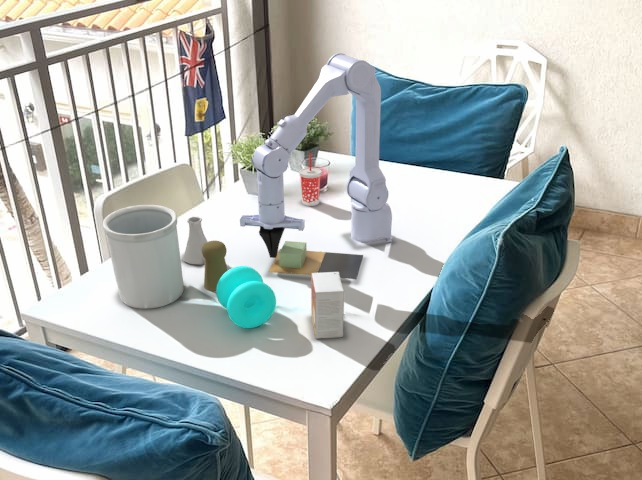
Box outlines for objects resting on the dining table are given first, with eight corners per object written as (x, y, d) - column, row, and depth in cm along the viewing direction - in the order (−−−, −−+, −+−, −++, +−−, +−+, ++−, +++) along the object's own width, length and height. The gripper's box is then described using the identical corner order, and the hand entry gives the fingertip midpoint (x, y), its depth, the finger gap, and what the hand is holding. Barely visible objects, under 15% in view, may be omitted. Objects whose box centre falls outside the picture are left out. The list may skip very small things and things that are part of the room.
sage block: (279, 266, 159) (279, 252, 157) (285, 254, 164) (285, 240, 162) (301, 268, 158) (300, 254, 156) (306, 256, 163) (306, 242, 161)
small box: (311, 318, 142) (310, 272, 136) (338, 316, 142) (339, 270, 137) (314, 339, 135) (314, 292, 130) (343, 337, 136) (344, 290, 130)
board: (268, 275, 157) (268, 271, 157) (280, 252, 167) (280, 248, 167) (356, 283, 154) (356, 279, 154) (363, 258, 164) (363, 254, 163)
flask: (219, 255, 167) (216, 216, 161) (203, 267, 161) (199, 228, 156) (194, 249, 169) (189, 211, 164) (177, 262, 164) (172, 222, 158)
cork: (226, 297, 150) (222, 250, 144) (200, 294, 151) (194, 248, 145) (235, 283, 155) (231, 238, 149) (209, 281, 156) (204, 236, 150)
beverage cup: (308, 196, 197) (307, 147, 189) (326, 201, 194) (326, 152, 186) (295, 203, 192) (294, 154, 185) (313, 208, 189) (312, 158, 182)
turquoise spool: (231, 335, 137) (228, 291, 131) (216, 311, 144) (212, 268, 139) (279, 324, 140) (277, 280, 135) (261, 301, 148) (259, 259, 142)
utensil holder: (156, 317, 143) (144, 239, 133) (101, 300, 149) (86, 224, 139) (199, 286, 154) (191, 212, 144) (147, 271, 160) (136, 199, 150)
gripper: (234, 205, 152) (238, 261, 159) (299, 209, 149) (300, 266, 157) (243, 193, 158) (246, 247, 165) (306, 197, 155) (307, 252, 163)
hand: (273, 255), depth 161 cm, fingers closed
